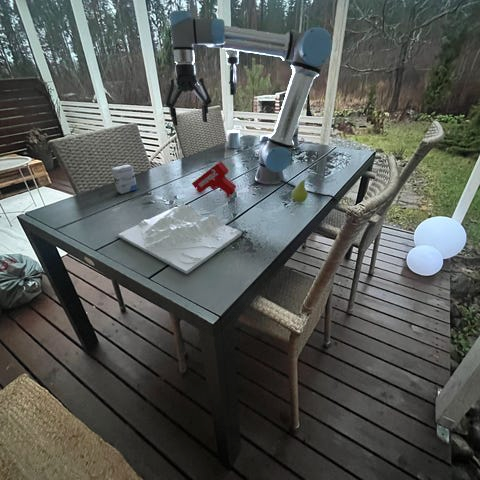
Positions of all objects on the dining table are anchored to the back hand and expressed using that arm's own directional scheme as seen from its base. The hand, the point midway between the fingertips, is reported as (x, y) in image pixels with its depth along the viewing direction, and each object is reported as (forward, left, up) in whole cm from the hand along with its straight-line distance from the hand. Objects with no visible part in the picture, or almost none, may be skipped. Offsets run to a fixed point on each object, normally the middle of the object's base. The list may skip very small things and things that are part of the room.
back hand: (233, 94), depth 186 cm
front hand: (+64, +62, -4) cm, 89 cm away
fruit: (+33, +99, -35) cm, 110 cm away
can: (0, 0, -35) cm, 35 cm away
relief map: (+88, +94, -35) cm, 134 cm away
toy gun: (+58, +68, -35) cm, 96 cm away
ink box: (+91, +39, -35) cm, 106 cm away
